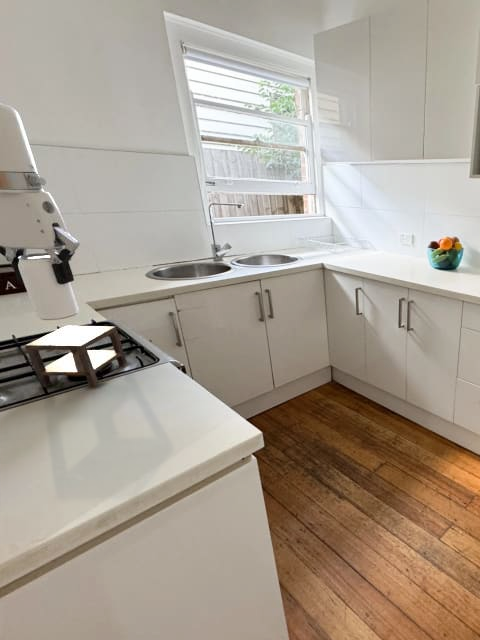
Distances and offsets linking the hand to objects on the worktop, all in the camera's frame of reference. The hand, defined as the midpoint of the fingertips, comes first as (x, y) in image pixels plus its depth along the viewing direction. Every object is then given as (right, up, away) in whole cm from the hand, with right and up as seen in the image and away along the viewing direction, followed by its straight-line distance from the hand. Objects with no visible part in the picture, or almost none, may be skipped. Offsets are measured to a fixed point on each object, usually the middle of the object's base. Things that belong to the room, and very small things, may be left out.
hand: (47, 281), depth 74 cm
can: (0, -7, +3) cm, 7 cm away
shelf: (-3, -20, +13) cm, 24 cm away
